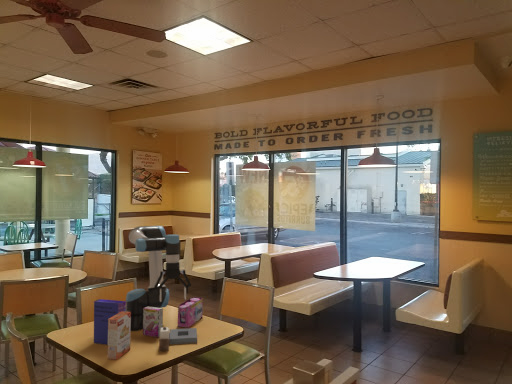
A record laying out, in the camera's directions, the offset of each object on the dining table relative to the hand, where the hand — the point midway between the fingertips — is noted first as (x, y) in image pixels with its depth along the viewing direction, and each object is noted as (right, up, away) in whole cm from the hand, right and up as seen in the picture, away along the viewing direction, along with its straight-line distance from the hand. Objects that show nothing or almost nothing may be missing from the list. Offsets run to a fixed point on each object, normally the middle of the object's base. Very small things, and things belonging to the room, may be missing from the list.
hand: (172, 300), depth 220 cm
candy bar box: (-16, -26, +16) cm, 34 cm away
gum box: (+3, -26, +42) cm, 49 cm away
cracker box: (-26, -26, -12) cm, 38 cm away
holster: (-4, -26, -2) cm, 26 cm away
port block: (+4, -26, +11) cm, 28 cm away
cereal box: (-37, -25, +3) cm, 45 cm away
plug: (-4, -26, -2) cm, 26 cm away
